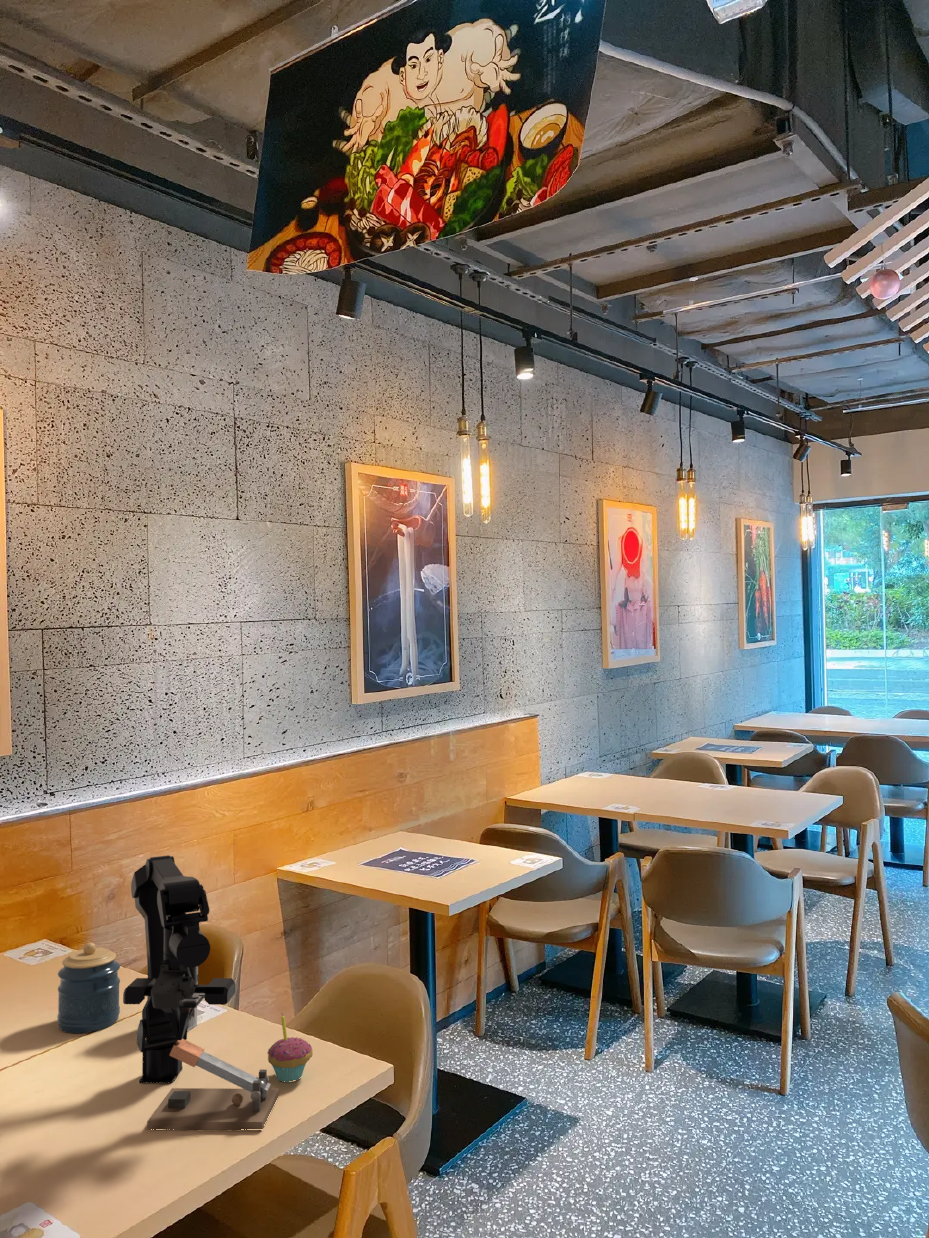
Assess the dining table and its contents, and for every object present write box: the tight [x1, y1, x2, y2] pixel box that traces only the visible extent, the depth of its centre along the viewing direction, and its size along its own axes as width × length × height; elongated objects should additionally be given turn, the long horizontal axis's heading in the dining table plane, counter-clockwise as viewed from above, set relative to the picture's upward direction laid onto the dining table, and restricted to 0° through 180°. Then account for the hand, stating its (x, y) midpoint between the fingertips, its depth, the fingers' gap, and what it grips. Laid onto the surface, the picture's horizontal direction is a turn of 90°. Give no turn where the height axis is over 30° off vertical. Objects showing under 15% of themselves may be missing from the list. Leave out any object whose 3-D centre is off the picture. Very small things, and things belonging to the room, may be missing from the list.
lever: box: [170, 1039, 271, 1098], centre depth 161 cm, size 18×3×2 cm, turn 87°
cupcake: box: [267, 1011, 314, 1083], centre depth 175 cm, size 9×8×12 cm
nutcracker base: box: [146, 1069, 280, 1132], centre depth 161 cm, size 20×12×6 cm, turn 88°
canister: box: [56, 942, 121, 1034], centre depth 202 cm, size 13×13×18 cm
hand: (179, 1039), depth 161 cm, fingers closed
